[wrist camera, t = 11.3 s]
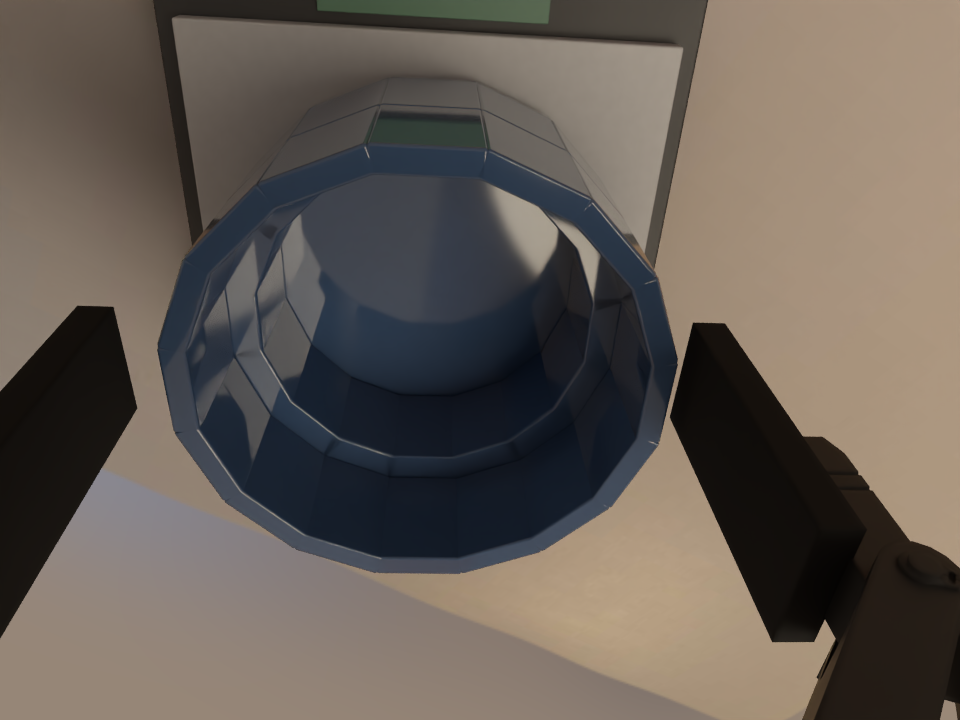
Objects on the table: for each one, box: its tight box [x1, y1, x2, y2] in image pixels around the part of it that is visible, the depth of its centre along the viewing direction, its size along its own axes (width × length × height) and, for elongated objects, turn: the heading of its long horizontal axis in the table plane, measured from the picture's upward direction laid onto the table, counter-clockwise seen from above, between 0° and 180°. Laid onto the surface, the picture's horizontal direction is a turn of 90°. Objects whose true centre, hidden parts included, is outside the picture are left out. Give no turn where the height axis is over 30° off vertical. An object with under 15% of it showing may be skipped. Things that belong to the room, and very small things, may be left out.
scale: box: [153, 0, 708, 269], centre depth 23 cm, size 15×14×3 cm
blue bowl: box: [157, 77, 678, 574], centre depth 19 cm, size 11×11×7 cm
